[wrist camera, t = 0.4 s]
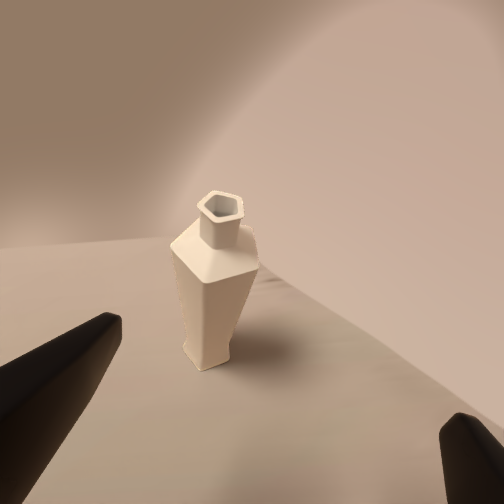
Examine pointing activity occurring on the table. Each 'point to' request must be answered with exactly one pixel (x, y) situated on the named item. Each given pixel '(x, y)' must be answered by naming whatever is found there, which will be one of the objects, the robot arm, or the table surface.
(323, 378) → the table surface
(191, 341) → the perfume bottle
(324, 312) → the table surface
